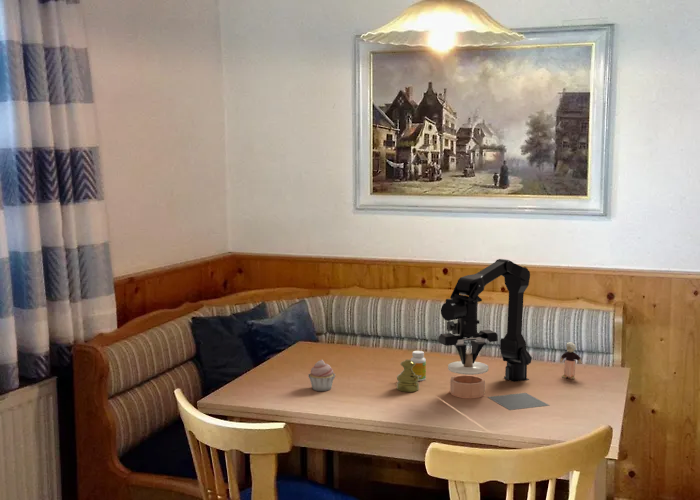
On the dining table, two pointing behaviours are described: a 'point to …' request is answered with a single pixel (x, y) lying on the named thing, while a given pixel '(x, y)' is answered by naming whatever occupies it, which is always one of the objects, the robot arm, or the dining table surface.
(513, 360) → the robot arm
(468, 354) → the lid
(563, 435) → the dining table surface
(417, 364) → the supplement bottle
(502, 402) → the mat
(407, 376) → the olive green figurine
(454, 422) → the dining table surface
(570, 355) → the grandmother figurine
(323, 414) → the dining table surface
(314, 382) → the cupcake
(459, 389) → the bowl
